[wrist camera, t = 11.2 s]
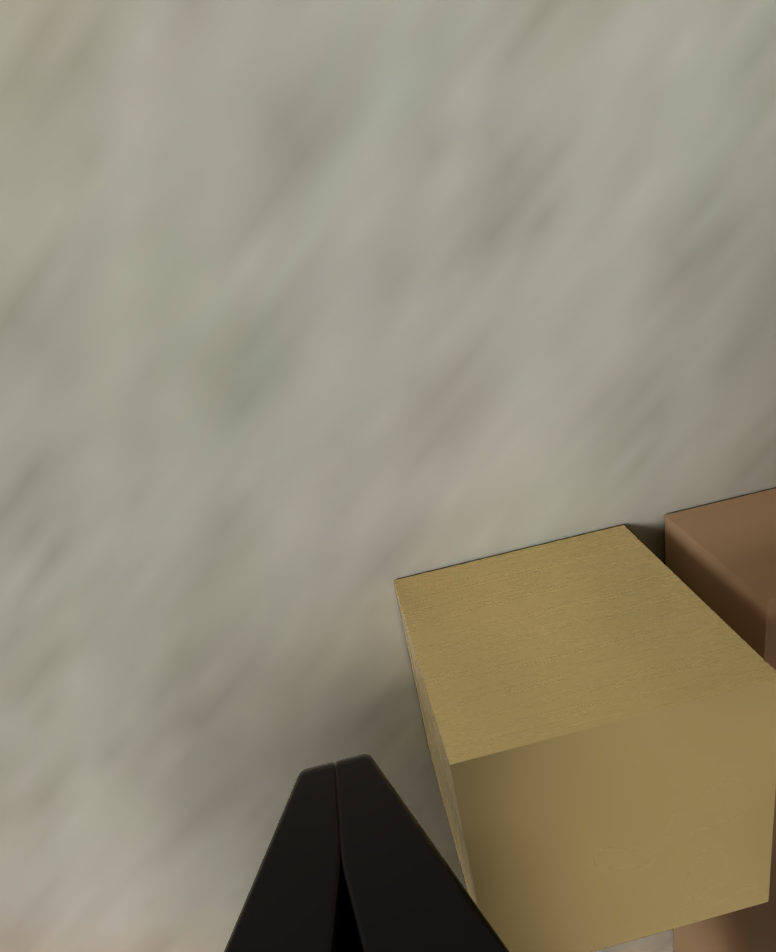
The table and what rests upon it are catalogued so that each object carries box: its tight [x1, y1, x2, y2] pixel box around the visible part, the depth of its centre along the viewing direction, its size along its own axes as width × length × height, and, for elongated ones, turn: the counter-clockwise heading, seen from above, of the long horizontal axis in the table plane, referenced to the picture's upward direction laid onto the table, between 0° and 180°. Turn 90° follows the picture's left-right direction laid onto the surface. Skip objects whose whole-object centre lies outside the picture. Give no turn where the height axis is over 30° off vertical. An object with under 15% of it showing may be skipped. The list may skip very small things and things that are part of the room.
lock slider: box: [394, 525, 776, 952], centre depth 8 cm, size 3×3×3 cm
